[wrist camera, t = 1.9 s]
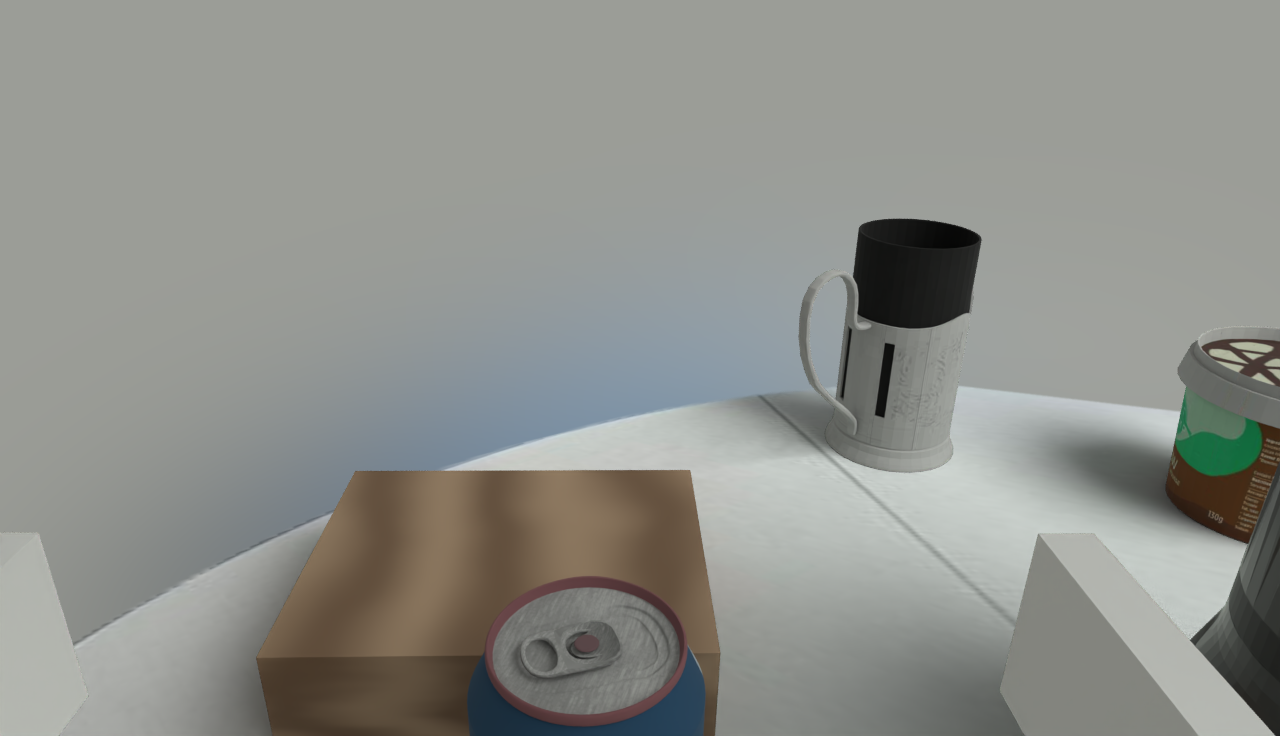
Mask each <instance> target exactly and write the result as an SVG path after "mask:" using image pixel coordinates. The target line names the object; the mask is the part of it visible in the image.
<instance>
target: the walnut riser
mask: <svg viewBox="0 0 1280 736" xmlns="http://www.w3.org/2000/svg"><path fill="white" fill-rule="evenodd" d="M579 576H601V577H609V578H614V579H619V580H623V581H626V582H630V583H633V584H636V585H638V586H641V587H643V588H645V589H647V590H649V591H651V592H653V593H654V594H656V595H657V596H659V597H660V598H662V599H663V600H664V601H665V602H666V603H668V604H669V605H670V606H671V608H672V609H673V610H674V611H675V612H676V614H677V615H678V617H679V618H680V620H681V622H682V624H683V626H684V629H685V632H686V637H687V645H688V646H689V648H690V649H691V651H692V653H693V654H694V656H695V658H696V660H697V662H698V664H699V666H700V669H701V671H702V674H703V678H704V683H705V692H706V696H705V715H704V732H703V736H715V724H716V709H717V695H718V680H719V665H720V648H719V642H718V636H717V630H716V624H715V618H714V612H713V605H712V599H711V593H710V587H709V581H708V575H707V569H706V563H705V557H704V551H703V545H702V539H701V533H700V526H699V520H698V514H697V508H696V502H695V496H694V490H693V484H692V478H691V472H690V470H574V471H355V473H354V475H353V477H352V479H351V480H350V482H349V484H348V486H347V488H346V490H345V492H344V493H343V496H342V497H341V499H340V501H339V503H338V505H337V507H336V508H335V510H334V512H333V514H332V516H331V518H330V520H329V522H328V524H327V525H326V527H325V529H324V531H323V533H322V535H321V537H320V539H319V540H318V542H317V544H316V546H315V548H314V550H313V552H312V554H311V555H310V557H309V559H308V561H307V563H306V565H305V567H304V569H303V571H302V572H301V574H300V576H299V578H298V580H297V582H296V584H295V586H294V587H293V589H292V591H291V593H290V595H289V597H288V599H287V601H286V602H285V604H284V606H283V608H282V610H281V612H280V614H279V616H278V618H277V619H276V621H275V623H274V625H273V627H272V629H271V631H270V633H269V634H268V636H267V638H266V640H265V642H264V644H263V646H262V648H261V649H260V651H259V653H258V655H257V657H256V660H257V664H258V669H259V674H260V678H261V683H262V688H263V692H264V697H265V702H266V706H267V711H268V716H269V720H270V725H271V730H272V734H273V736H470V734H469V722H468V710H467V694H468V688H469V684H470V680H471V677H472V675H473V672H474V670H475V668H476V666H477V664H478V662H479V660H480V658H481V657H482V655H483V653H484V651H485V643H486V638H487V635H488V632H489V629H490V627H491V625H492V624H493V622H494V620H495V619H496V617H497V616H498V615H499V613H500V612H501V611H502V610H503V609H504V608H505V607H506V606H507V605H508V604H509V603H511V602H512V601H513V600H515V599H516V598H517V597H519V596H521V595H522V594H524V593H526V592H527V591H529V590H531V589H534V588H536V587H538V586H541V585H544V584H546V583H550V582H553V581H557V580H561V579H566V578H571V577H579Z"/></svg>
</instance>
